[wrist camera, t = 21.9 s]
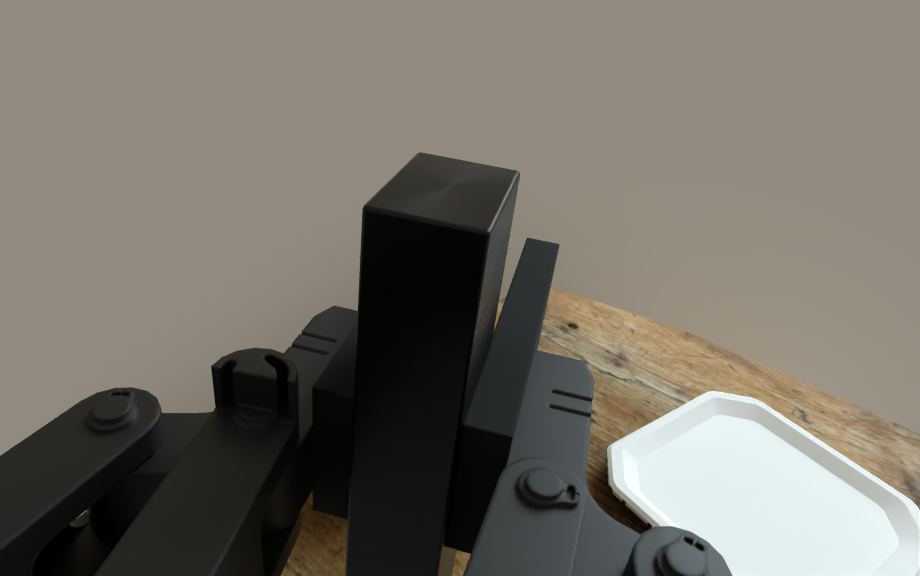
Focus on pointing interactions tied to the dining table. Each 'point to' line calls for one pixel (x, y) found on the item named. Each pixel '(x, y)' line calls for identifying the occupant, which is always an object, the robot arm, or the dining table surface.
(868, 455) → the dining table surface
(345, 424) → the robot arm
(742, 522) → the plate
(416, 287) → the knife
